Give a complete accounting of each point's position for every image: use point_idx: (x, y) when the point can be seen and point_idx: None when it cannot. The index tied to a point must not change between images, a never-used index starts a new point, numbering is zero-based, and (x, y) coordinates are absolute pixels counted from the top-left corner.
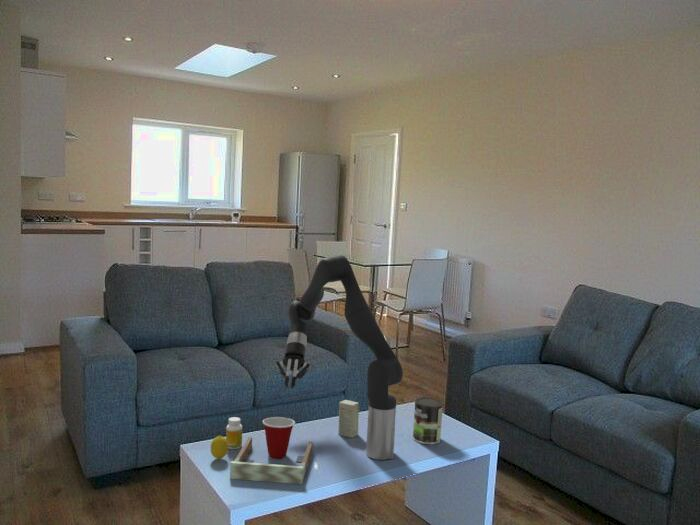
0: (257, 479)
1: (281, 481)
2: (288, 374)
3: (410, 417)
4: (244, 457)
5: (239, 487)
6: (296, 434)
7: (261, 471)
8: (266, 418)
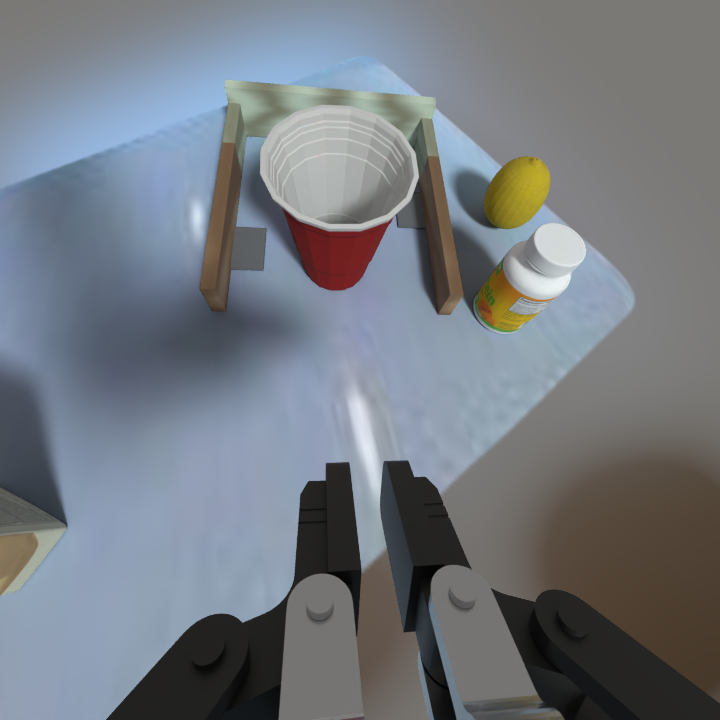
0: None
1: None
2: (447, 601)
3: None
4: (427, 219)
5: None
6: (293, 472)
7: None
8: (410, 195)
